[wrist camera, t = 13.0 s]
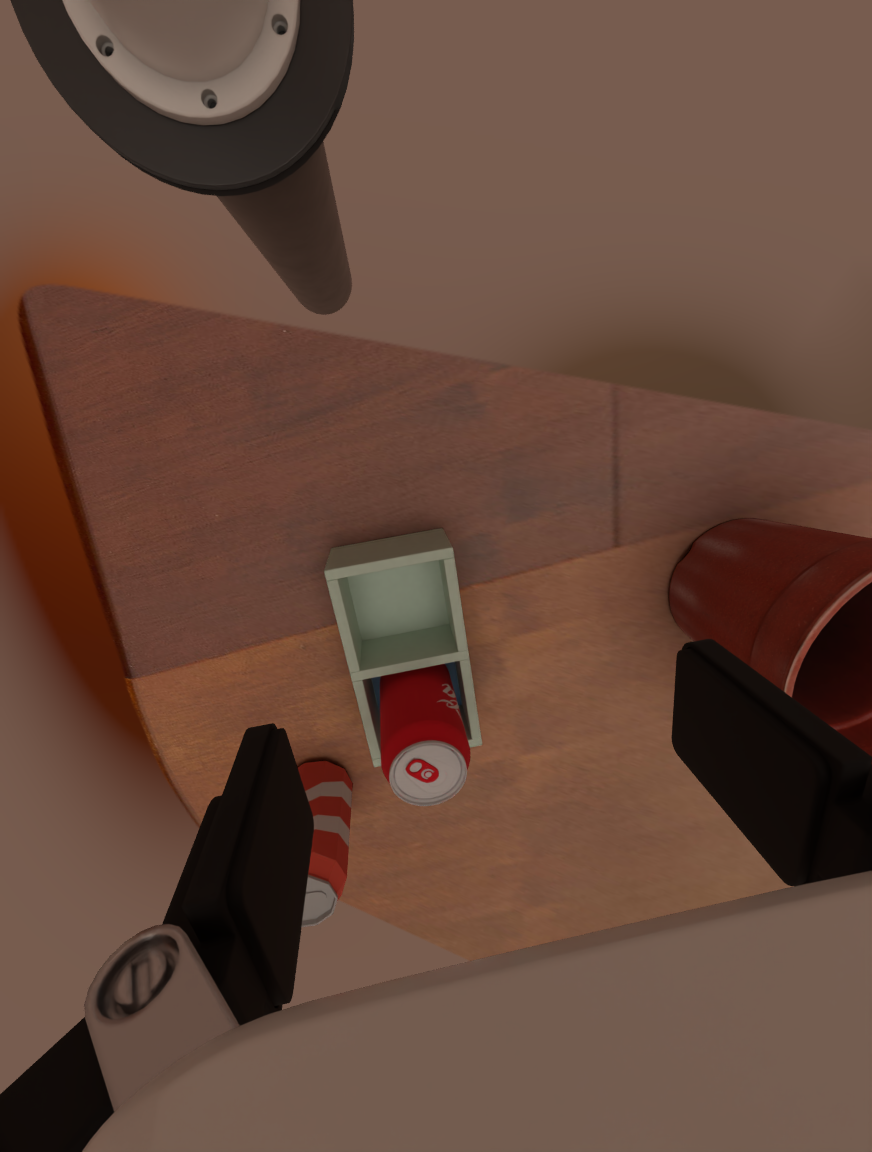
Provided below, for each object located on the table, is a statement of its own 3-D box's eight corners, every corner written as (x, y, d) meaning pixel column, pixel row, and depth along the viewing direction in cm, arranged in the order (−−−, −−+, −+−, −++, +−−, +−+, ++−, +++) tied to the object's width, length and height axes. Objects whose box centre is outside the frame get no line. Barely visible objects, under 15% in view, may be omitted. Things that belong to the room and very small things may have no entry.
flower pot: (728, 454, 40) (940, 486, 25) (850, 547, 44) (1093, 622, 29) (608, 614, 44) (730, 725, 29) (732, 684, 48) (893, 813, 33)
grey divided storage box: (330, 547, 39) (323, 570, 33) (442, 527, 39) (452, 547, 34) (374, 725, 45) (373, 767, 40) (470, 705, 45) (482, 745, 40)
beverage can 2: (420, 718, 44) (435, 826, 33) (365, 685, 42) (361, 787, 31) (463, 670, 43) (494, 764, 32) (408, 633, 41) (420, 720, 30)
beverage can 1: (355, 802, 48) (349, 925, 37) (290, 810, 47) (263, 937, 36) (349, 753, 46) (341, 867, 34) (281, 760, 45) (249, 879, 34)
